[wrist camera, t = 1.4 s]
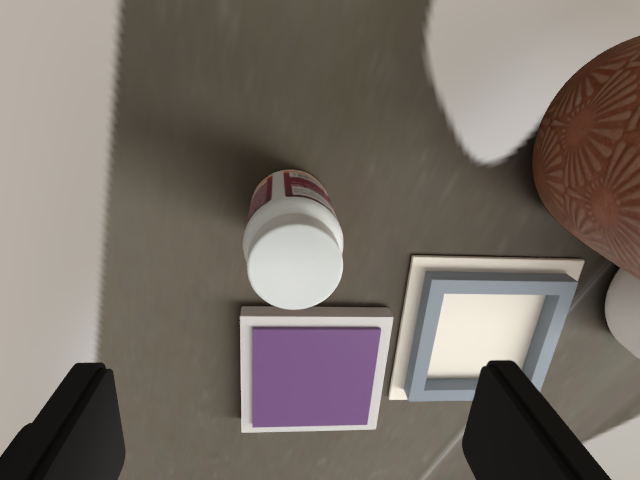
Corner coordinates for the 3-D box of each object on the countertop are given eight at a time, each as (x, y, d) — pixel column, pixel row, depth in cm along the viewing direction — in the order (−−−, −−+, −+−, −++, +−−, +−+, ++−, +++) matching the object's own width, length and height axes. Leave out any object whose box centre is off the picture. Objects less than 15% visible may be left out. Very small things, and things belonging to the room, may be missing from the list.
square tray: (411, 255, 26) (419, 265, 25) (581, 258, 28) (597, 268, 26) (388, 396, 31) (393, 412, 29) (534, 394, 32) (546, 409, 31)
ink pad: (241, 306, 27) (239, 319, 25) (389, 307, 28) (394, 319, 26) (243, 419, 30) (241, 436, 29) (372, 416, 31) (376, 432, 30)
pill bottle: (268, 253, 25) (262, 332, 18) (238, 183, 23) (217, 238, 16) (339, 228, 25) (365, 298, 17) (315, 156, 23) (332, 198, 16)
